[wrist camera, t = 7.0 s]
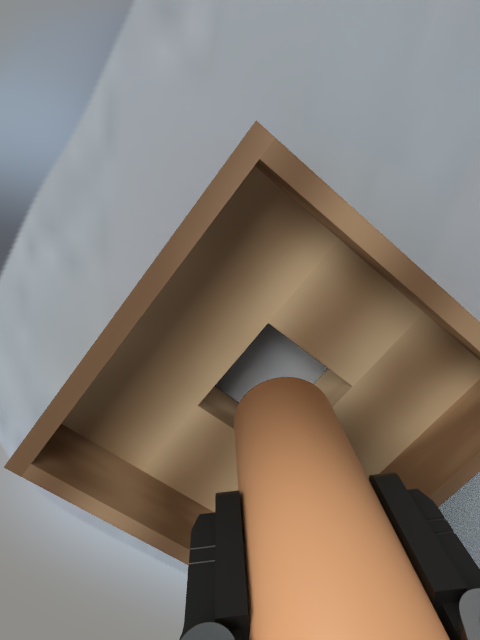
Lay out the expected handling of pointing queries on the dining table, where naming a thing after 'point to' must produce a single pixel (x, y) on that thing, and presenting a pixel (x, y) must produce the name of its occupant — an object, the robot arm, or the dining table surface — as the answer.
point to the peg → (318, 528)
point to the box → (237, 334)
